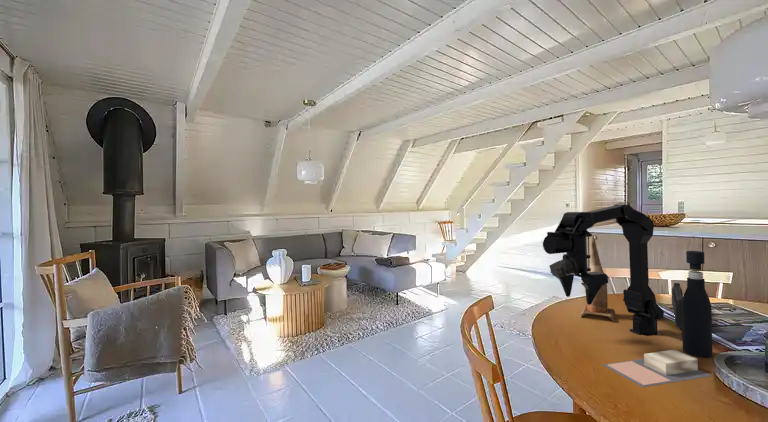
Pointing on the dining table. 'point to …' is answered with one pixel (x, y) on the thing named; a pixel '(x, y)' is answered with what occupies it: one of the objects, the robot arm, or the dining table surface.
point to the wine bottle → (696, 311)
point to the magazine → (677, 304)
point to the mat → (650, 373)
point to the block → (670, 362)
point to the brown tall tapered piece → (601, 298)
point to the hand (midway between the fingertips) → (578, 300)
